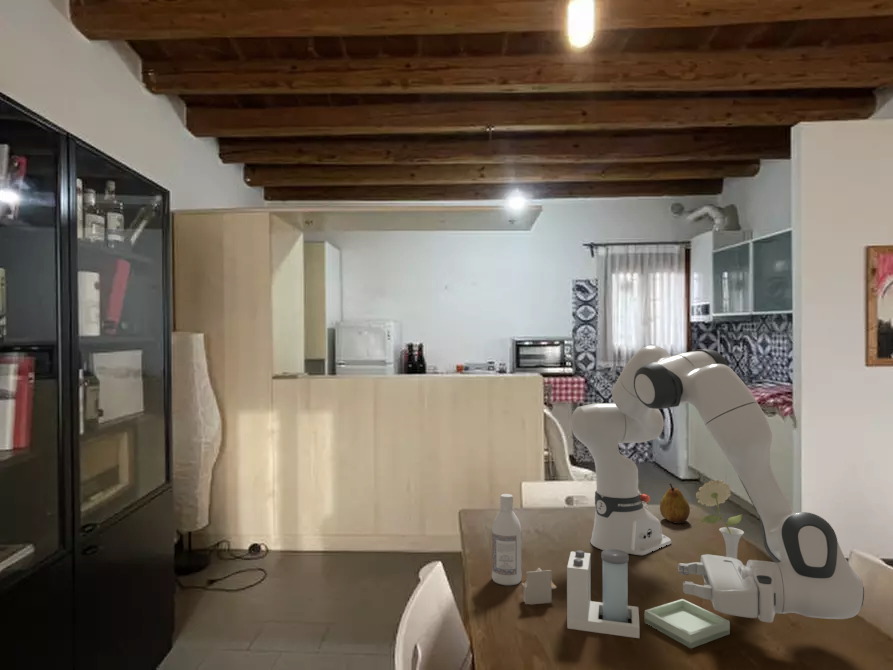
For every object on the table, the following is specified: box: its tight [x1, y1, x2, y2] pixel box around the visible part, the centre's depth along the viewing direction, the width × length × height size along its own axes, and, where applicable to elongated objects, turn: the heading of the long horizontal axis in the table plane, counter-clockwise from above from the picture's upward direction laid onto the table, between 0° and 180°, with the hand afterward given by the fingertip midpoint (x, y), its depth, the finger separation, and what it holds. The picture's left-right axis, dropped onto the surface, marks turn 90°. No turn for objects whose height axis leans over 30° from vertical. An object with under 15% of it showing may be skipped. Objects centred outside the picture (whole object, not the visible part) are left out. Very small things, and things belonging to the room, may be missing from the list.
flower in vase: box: [695, 479, 745, 583], centre depth 132 cm, size 13×11×25 cm
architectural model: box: [521, 567, 557, 605], centre depth 128 cm, size 3×7×7 cm, turn 100°
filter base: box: [566, 549, 640, 639], centre depth 118 cm, size 14×9×13 cm, turn 73°
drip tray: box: [644, 598, 731, 649], centre depth 116 cm, size 11×11×2 cm
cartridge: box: [600, 549, 630, 623], centre depth 117 cm, size 5×5×14 cm
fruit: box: [659, 483, 691, 524], centre depth 183 cm, size 9×9×12 cm
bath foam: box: [491, 493, 523, 586], centre depth 139 cm, size 7×7×20 cm
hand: (680, 577), depth 114 cm, fingers open, 8 cm apart
